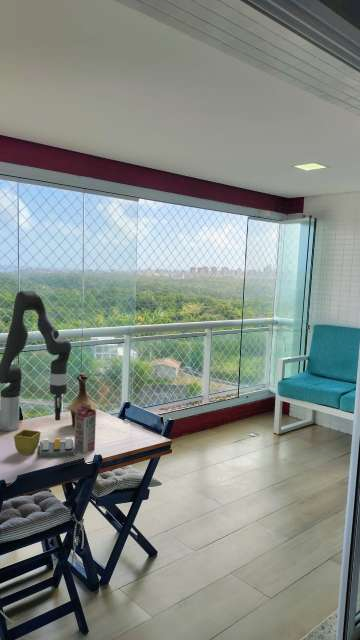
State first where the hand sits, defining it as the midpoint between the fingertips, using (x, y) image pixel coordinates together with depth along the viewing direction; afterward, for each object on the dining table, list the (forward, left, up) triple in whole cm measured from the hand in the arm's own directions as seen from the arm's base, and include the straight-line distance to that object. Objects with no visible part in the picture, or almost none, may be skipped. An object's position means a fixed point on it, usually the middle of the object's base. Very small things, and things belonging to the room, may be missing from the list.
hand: (57, 419), depth 224 cm
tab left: (-5, -4, -12) cm, 14 cm away
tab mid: (0, -4, -12) cm, 13 cm away
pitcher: (+14, +36, -15) cm, 41 cm away
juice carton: (+12, -1, -15) cm, 19 cm away
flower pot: (-13, -1, -15) cm, 20 cm away
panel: (0, 0, -14) cm, 14 cm away
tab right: (+5, -4, -12) cm, 14 cm away
